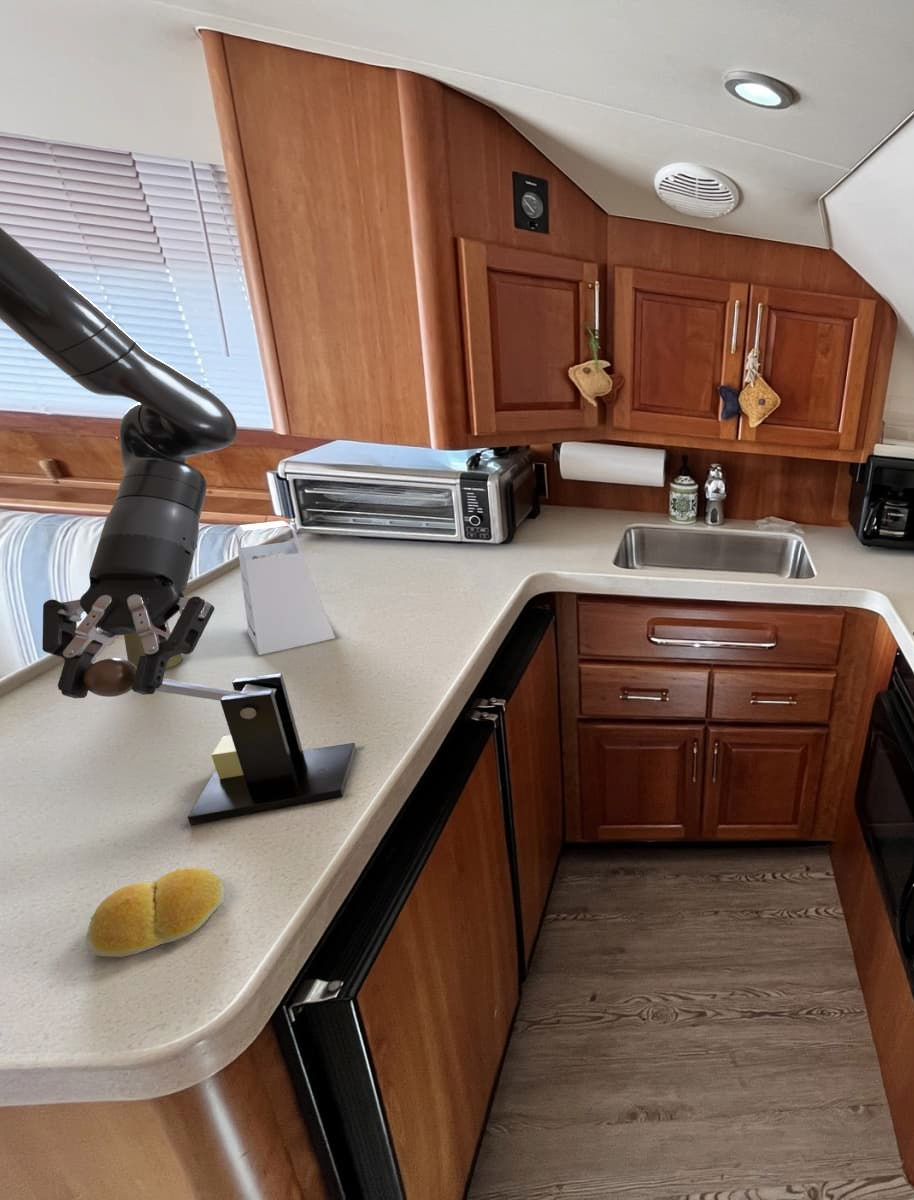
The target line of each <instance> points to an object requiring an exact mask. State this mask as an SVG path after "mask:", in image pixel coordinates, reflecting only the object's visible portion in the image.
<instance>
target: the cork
mask: <svg viewBox="0 0 914 1200" xmlns="http://www.w3.org/2000/svg"><path fill="white" fill-rule="evenodd" d="M123 638H124V645H125V652H126V657H127V661H129V662H131V663H132V664H134V665H135V666H136V667H137V666H138V662H139V658H140V656H145V655H146V653H145V652H144V649H143V645H142V641H141V638H140V636H139V635H138V634H137V633H130V634H126V635H123ZM183 659H184V658H183V656H182V654H179V655H176V656H173V657H172V658H171V659H169V660H168V662H167V666H166V670H167V669H171V668H173V667H175V666H178V665H179V664H180V663H181V662H182V661H183Z"/></svg>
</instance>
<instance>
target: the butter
mask: <svg viewBox="0 0 914 1200" xmlns="http://www.w3.org/2000/svg"><path fill="white" fill-rule="evenodd" d="M211 758H212V759H211V760H212V761H213V764H214V768H215V770H216V771H217V774H218V777H219V779H223V778H229V777H235V776H241V775H243V771H242V768H241V765H240V762H239V759H238V756H237V752H236V749H235V746H234V743H233V740H232V737H231V734H230V735H224V736H222V737H221V738H220V740H219V741H218V743H217V745H216V747H215V748H214V750H213V751H212V753H211Z"/></svg>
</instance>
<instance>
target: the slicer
mask: <svg viewBox="0 0 914 1200" xmlns="http://www.w3.org/2000/svg"><path fill="white" fill-rule="evenodd" d="M231 684H232V688H233V690H237V691H242V690H243V689H244V687H245V685H246V684H250V685H256V686H262V687H268V688H274V689H276V692H275V695H274V693H273V690H269V691H261V692H253V693H244V694H236V695H228V696H223V697H222V698H221V700H220V701H219V702H220V706H221V708H222V711H223V714H224V717H225V720H226V724H227V728H228V730H229V733H230V735H231V737H232V740H233V743H234V746H235V749H236V752H237V756H238V759H239V762H240V765H241V768H242V771H243V775H241V776H235V777H229V778H223V779H219V777H218V774H217V771H216V769H214V771H213V773H212V775H211V776H210V778H209V780H208V781H207V783H206V785H205V787H204V788H203V790H202V792H201V793H200V795H199V797H198V799H197V801H196V802H195V804H194V806H192V809H191V810H190V812H189V813H188V816H187V820H188V823H189V825H190V826H197V825H202V824H207V823H212V822H217V821H224V820H229V819H235V818H239V817H244V816H251V815H255V814H256V815H257V814H261V813H266V812H267V813H268V812H271V811H277V810H282V809H288V808H293V807H299V806H305V805H310V804H315V803H321V802H326V801H332V800H336V799H341V798H343V796H344V793H345V790H346V786H347V783H348V779H349V775H350V772H351V769H352V765H353V761H354V758H355V755H356V752H357V748H356V743H355V742H350V743H344V744H337V745H330V746H323V747H317V748H311V749H305V750H303V747H302V742H301V739H300V736H299V735H300V734H299V732H298V728H297V725H296V724H297V723H296V721H295V720H296V719H295V717H294V713H293V709H292V705H291V703H290V697H289V694H288V691H287V687H286V684H285V680H284V676H283V673H272V674H263V675H255V676H247V677H246V676H245V677H235V678H234V680H233V681H232V682H231Z"/></svg>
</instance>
